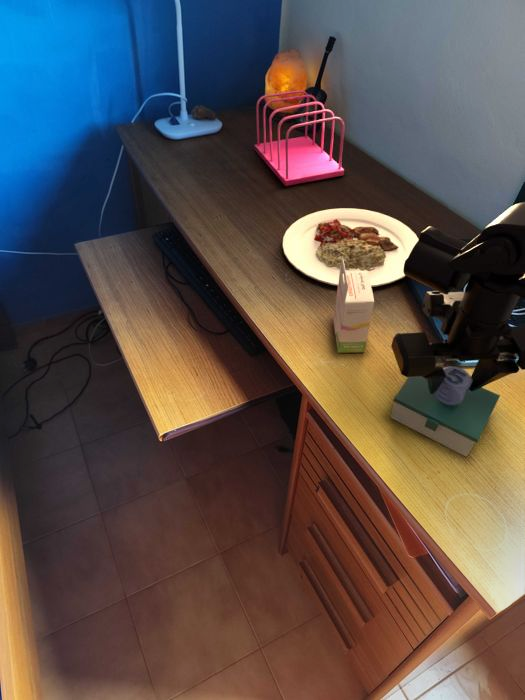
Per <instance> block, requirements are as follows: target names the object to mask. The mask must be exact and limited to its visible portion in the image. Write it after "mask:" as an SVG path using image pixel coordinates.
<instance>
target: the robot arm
mask: <svg viewBox="0 0 525 700" xmlns="http://www.w3.org/2000/svg"><path fill="white" fill-rule="evenodd" d="M418 239H419V240H418V242H417V243H416V244H415V246H414V247H413V249H412V251H411V253H410V255H409V257H408V258H407V259H406V260H405V263H404V268H403V272H404V275H406V276H405V277H407V278H410V279H412V280H414V281H416V282H418V283H420V284H423V285H424V286H426V287H428V288H430V289H433V290H432V291H431V290H430V291H426V292H425V295H424V298H423V301H422V312H423V313H424V314H425V315H426V317H428V318H437V319H438V320H439V321H440V322H441V326H440V328H439V329H440V331H441V333H442V335H446V336H447V338H445V339H444V340H443V342H438V343H434V342H433V343H432V342H430V340H429V337H428V336H427V333H426V332H425V331H415V332H414V331H413V332H400V333H399V332H398V333H395V335H394V336H393V337H392V342H391V345H390V347H391V350H392V353H393V355H394V358H395V361H396V365H398V369H399V372H400V375H402V376H404V377H406V378H408V377H416V376H422V377H424V378H425V379H427V382H428V388H429V391H430V394H434V393H435V392H436V391H437V389H438V388H439V386H440V385H441V383H442V382H443V381H444V379H445V378H446V374H445V372H444V367H443V366H444V365H445V363H446V362H449V361H459V362H471V361H472V362H473V361H477V362H476V364H475V367H474V369H473V371H472V374H471V375H470V376H471V378H472V380H473V382H472V384H471V386H470V388H469V389H470V391H475V390H477V389H479V388H481V387H482V388H484V387H485V386H486V385H487V386H488V385H489V384H491V383H493V382H496V381H498V380H500V379H502V378H505V377H507V376H510V375H511V374H517V373H518V372H519V371H520V369H521V371H522V370H525V325H513V326H511V325H510V323H509V320H510V318H511V316H512V314H513V312H514V310H515V308H516V306H517V304H518V302H519V300H520V298H521V299H523V300H525V201H523V202H519V203H515V204H514V205H512V206H510V207H508V208H507V209H506V210H505V211H504V212H502V214H500V215H499V216H498V217H496V218H495V219H494V220H492V222H491V223H489V224H488V225H487V226H485V227H484V228H483V229H482V231H481V232H480V233H479V234H478V235H477V236H476V237H474V238H473V239H472V240H471V241H470V242H467V241H464V240H461V239H459V238H457V237H454V236H453V235H450V234H447V233H445V232H443V231H442V230H440V229H438V228H437V227H434V226H431V225H430V226H428V227H426V228H425V229H424V230H422V231H421V232H420V234H419V237H418ZM466 283H467V284H466ZM465 285H466V287H465V289H464V291H460V290H461V289H462V288H463V287H464V286H465ZM452 290H455V291H452ZM517 357H518V359H517Z"/></svg>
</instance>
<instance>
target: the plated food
mask: <svg viewBox="0 0 525 700" xmlns="http://www.w3.org/2000/svg"><path fill="white" fill-rule="evenodd" d="M418 240H419V237H418V236H417V234H416V233H415V232H414V231H413V230H412V229H411V228H410V227H409V226H407V225H406V224H405V223H403V222H401V221H400V220H398V219H396V218H394V217H391V216H390V215H386V214H384V213H382V212H377V211H373V210H368V209H362V208H351V207H350V208H349V207H347V208H345V207H343V208H342V207H340V208H330V209H329V208H328V209H324V210H319V211H316V212H315V211H314V212H313V213H310V214H307V215H305V216H303V217H301V218H299V219H298V220H296V221H295V222H294V223H292V224H291V225H290V226H289V227H288V228H287V230H286V231H285V233H284V235H283V238H282V249H283V254H284V256H285V257H286V259H287V261H288V262H289V263H290V264H291V265H292V266H293V267H294V268H295V269H296V270H297V271H299V272H300V273H301V274H303V275H305V276H306V277H309V278H311V279H313V280H315V281H317V282H321V283H324V284H328V285H332V286H337V287H338V282H339V274H340V267H341V261H342V257H343V260H344V265H345V270H346V271H367V272H368V275H369V279H370V283H371V288H374V287H380V286H384V285H389V284H392V283H395V282H396V281H399V280H401V279H404V278H405V277H407V276H406V275H404V272H403V268H404V263H405V260H406V259H407V258H408V257H409V255H410V253H411V251H412V249H413V247H414V246H415V244H416V243H417V242H418Z"/></svg>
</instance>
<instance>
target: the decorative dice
mask: <svg viewBox="0 0 525 700" xmlns="http://www.w3.org/2000/svg"><path fill="white" fill-rule="evenodd" d="M443 369H444V372H445V374H446V378H445V379H444V381H443V382H442V383H441V385H440V386H439V388H438V389H437V391H436V392H435V393H434V394H435V396H436V397H437V398H438V399H439V400H440V401H441V402H443V403H445V404H448V405H459V404H460V403H461V402H462V400H463V399H464V397H465V396H466V394H467V392H468V390H469V388H470V386H471V384H472V382H473V380H472V378H471V376H472V375H470V373H469V372H468V371H466V370H465V369H464V368H461V367H460V366H459V367H458V366H447V367H443Z"/></svg>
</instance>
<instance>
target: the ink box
mask: <svg viewBox="0 0 525 700" xmlns="http://www.w3.org/2000/svg"><path fill="white" fill-rule="evenodd" d="M374 305H375V297H374V292H373V287H371V283H370V279H369V275H368V272H367V271H346V270H345V265H344V260H343V257H342V261H341V267H340V274H339V282H338V286H337V291H336V299H335V306H334V314H333V328H334V334H335V343H336V351H337V353H338V354H343V353H345V354H347V353H350V354H351V353H365V351H366V345H367V340H368V335H369V329H370V323H371V319H372V315H373V310H374Z"/></svg>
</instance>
